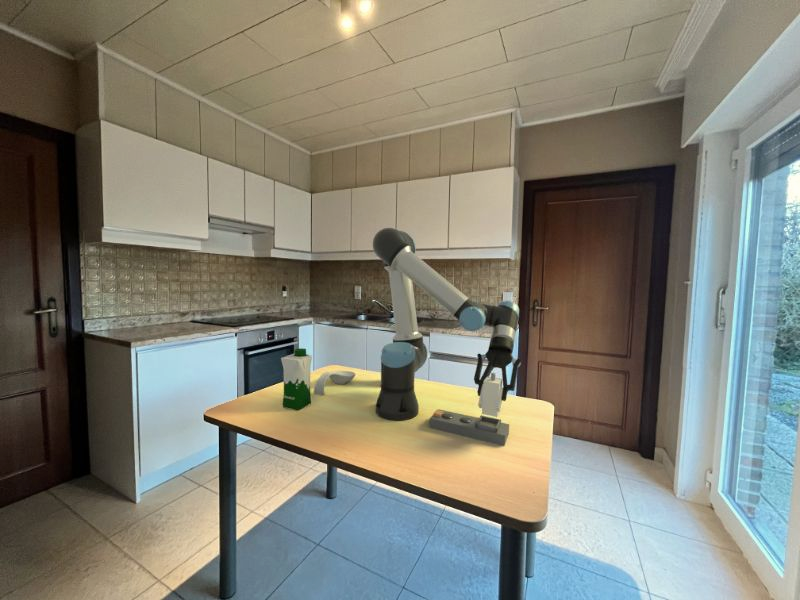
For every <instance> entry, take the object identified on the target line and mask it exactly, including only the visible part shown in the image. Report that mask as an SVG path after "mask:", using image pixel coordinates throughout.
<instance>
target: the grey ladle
mask: <svg viewBox="0 0 800 600" xmlns="http://www.w3.org/2000/svg"><path fill="white" fill-rule="evenodd" d="M355 376H356V373H355V372H354V371H351V370H350V371H349V370H333V371H329V372H328V371H325V372H323V373H322V374H321V375H320V376H319V377H318V379H317V381H316V383H315V386H314V387H313V394H314V395H318V396H319V395H320V396H324V395H325V383H326V382H327V379H328V378H329V379H330V380H331V381H332V382H333V383H334V384H337V385H344V384H345V385H346V384H348V383H349V382H350V381H352V380H353V379H354V378H355Z"/></svg>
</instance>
